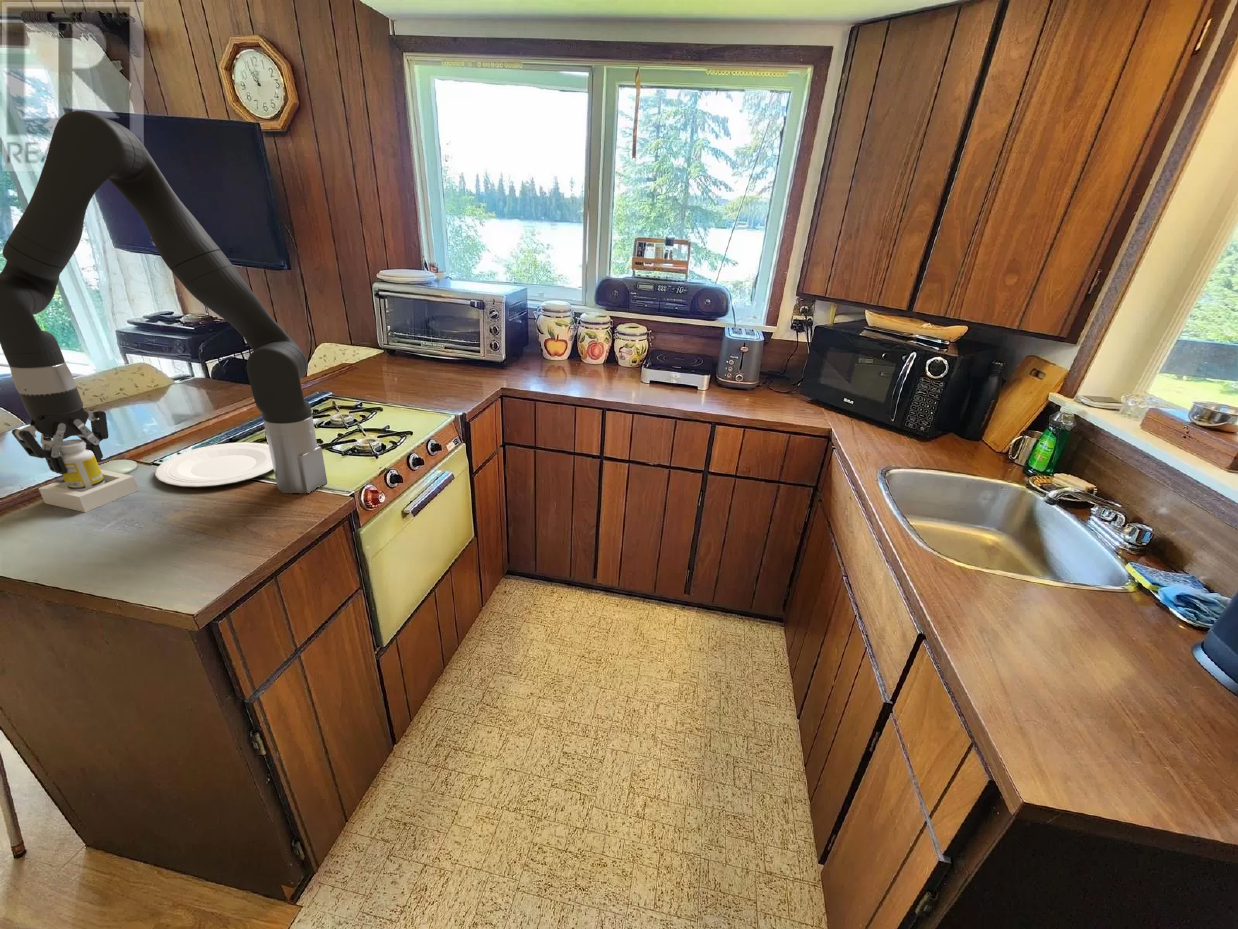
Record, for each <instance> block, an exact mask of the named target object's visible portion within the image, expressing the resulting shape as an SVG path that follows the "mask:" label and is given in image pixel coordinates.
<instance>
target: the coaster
mask: <svg viewBox="0 0 1238 929" xmlns="http://www.w3.org/2000/svg"><path fill="white" fill-rule="evenodd" d="M108 461H109V462H107V463H104V464H101V465H99V468H100V469H102V470H107V471H112V472H116V473H121V474H126V475H129V474H131V473H132V472H134V471H136V469H138V462H137V461H134V460H131V459H115V460H114V459H113V460H108Z"/></svg>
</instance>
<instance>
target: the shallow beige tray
mask: <svg viewBox="0 0 1238 929" xmlns="http://www.w3.org/2000/svg"><path fill="white" fill-rule="evenodd" d="M100 470H101V473H102V475H103V478H104V481H105V482H104V484H103V485H100V486H97V487H95V488H92V489H89V490H87V491H79V492H78V491H73V490H69V489H68V487H67V485H66V482H65V480H64V478H63V476H60V477H58V478H55V481H54V482H52V483H49V484H47V485H43V486H41V487H38V491H39V493H40V496H41V497H42V499H43V502H44V503H45V504H47V505H52V506H56V507H60V508H64V509H69V510H74V511H78V512H83V513H87V512H89V511H92V510H94V509H97V508H98V507H99V508H100V507H101V506H104V505H106V504H109V503H111V502H114V501H116V500H119V499H121V498H123V497H126V496H128V495H131V494H133V493H135V492H139V487H138V485H137V482H136V479H135V476H134V475H129V474H121V473H116V472H112V471H107V470H102V469H100Z"/></svg>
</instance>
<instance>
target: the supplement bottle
mask: <svg viewBox="0 0 1238 929" xmlns="http://www.w3.org/2000/svg"><path fill="white" fill-rule="evenodd" d="M85 448H86V443H85V442H84V441H83V440H81V439H80V438H79V439H78V438H77V439H68V440H67V439H66V440H63V444H62V446H60V452H59V456H61V457H62V460H63V462H64V465H65V467H66V470H67V473H65V474H61V475H62V476H61V477H63V478H64V480H65V482H66V485H67V487H68V489H69V490H73V491H78V492H79V491H87V490H89V489H92V488H95V487H97V486H100V485H103V484H104V482H105V481H104V478H103V475H102V473H101V470H100V468H99V465H98V463H99V462H98V463H97V460H96V458H95V455H94V453H93V452H92V451H91V450H88V449H85Z"/></svg>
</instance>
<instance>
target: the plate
mask: <svg viewBox="0 0 1238 929" xmlns="http://www.w3.org/2000/svg"><path fill="white" fill-rule="evenodd" d="M271 471H274V469H273V464H272V459H271V455H270V450H269V445H268V444H265V443H260V442H244V441H243V442H227V443H219V444H213V445H207V446H203V447H197V448H195V449H191V450H188V451H185V452H184V451H183V452H182V453H180V454H179V453H178V454H177V455H174V456H172V457H170V458H167V459H166V460H165V461H163V462H162V463H161V464H159V466H157V467H156V469H155V474H154V475H155V477H156V479H157V480H158V481H160V483H161V482H162V483H164V484H166V485H170V486H175V487H181V488H210V487H220V486H227V485H232V484H237V483H241V482H245V481H249V480H252V479H255V478H259V477H261V476H264V475H266V474H268V473H269V472H271Z"/></svg>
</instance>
